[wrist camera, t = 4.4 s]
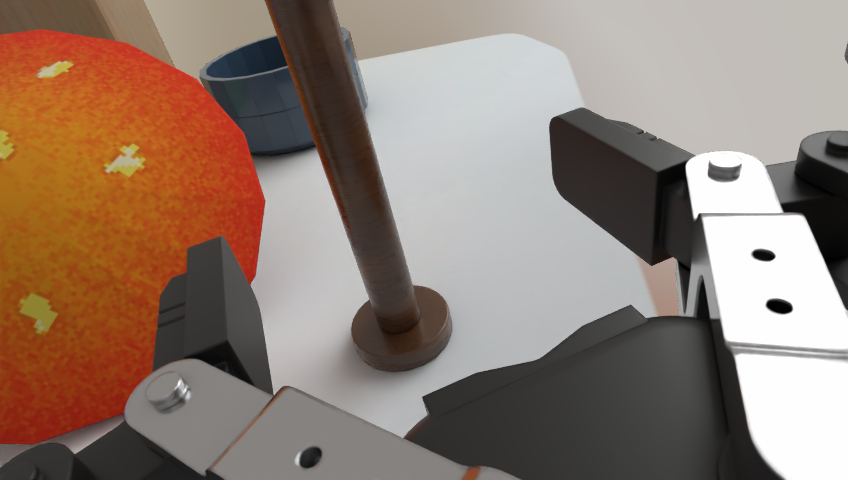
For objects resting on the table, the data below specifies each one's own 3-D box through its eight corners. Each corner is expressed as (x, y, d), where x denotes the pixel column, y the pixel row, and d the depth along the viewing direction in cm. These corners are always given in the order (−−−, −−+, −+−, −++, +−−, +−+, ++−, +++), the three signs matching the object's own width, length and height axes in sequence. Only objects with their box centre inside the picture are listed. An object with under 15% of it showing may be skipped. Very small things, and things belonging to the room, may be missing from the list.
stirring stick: (431, 287, 27) (324, -135, 17) (468, 346, 23) (359, -150, 13) (346, 321, 26) (179, -100, 16) (371, 387, 23) (173, -106, 12)
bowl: (351, 86, 56) (332, 18, 52) (386, 125, 46) (365, 43, 42) (229, 125, 54) (199, 57, 50) (236, 176, 43) (199, 94, 39)
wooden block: (111, 149, 55) (-18, -67, 44) (204, 126, 55) (100, -96, 44) (73, 195, 47) (-98, -56, 36) (183, 167, 47) (48, -92, 36)
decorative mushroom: (-67, 349, 32) (-317, 116, 23) (257, 202, 39) (158, -18, 30) (-132, 563, 21) (-659, 265, 12) (339, 302, 28) (218, -3, 19)
